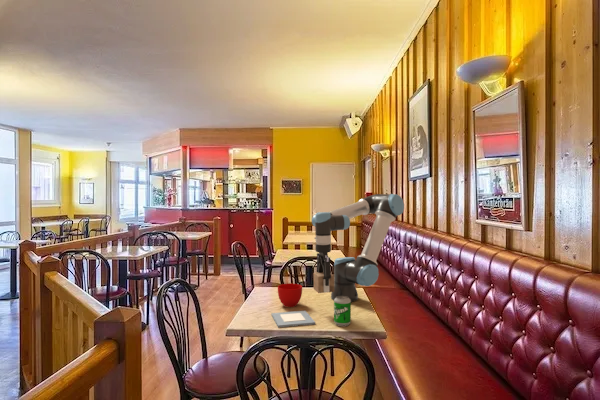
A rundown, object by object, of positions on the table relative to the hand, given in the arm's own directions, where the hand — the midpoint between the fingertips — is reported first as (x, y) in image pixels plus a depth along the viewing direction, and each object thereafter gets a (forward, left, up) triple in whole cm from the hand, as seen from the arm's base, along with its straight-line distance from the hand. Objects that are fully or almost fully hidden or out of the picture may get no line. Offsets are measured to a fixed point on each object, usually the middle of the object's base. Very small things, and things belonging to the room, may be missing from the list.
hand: (323, 289), depth 180 cm
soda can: (-4, +16, -12) cm, 20 cm away
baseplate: (+17, +5, -12) cm, 21 cm away
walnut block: (0, 0, 0) cm, 0 cm away
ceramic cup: (+12, -19, -12) cm, 26 cm away
